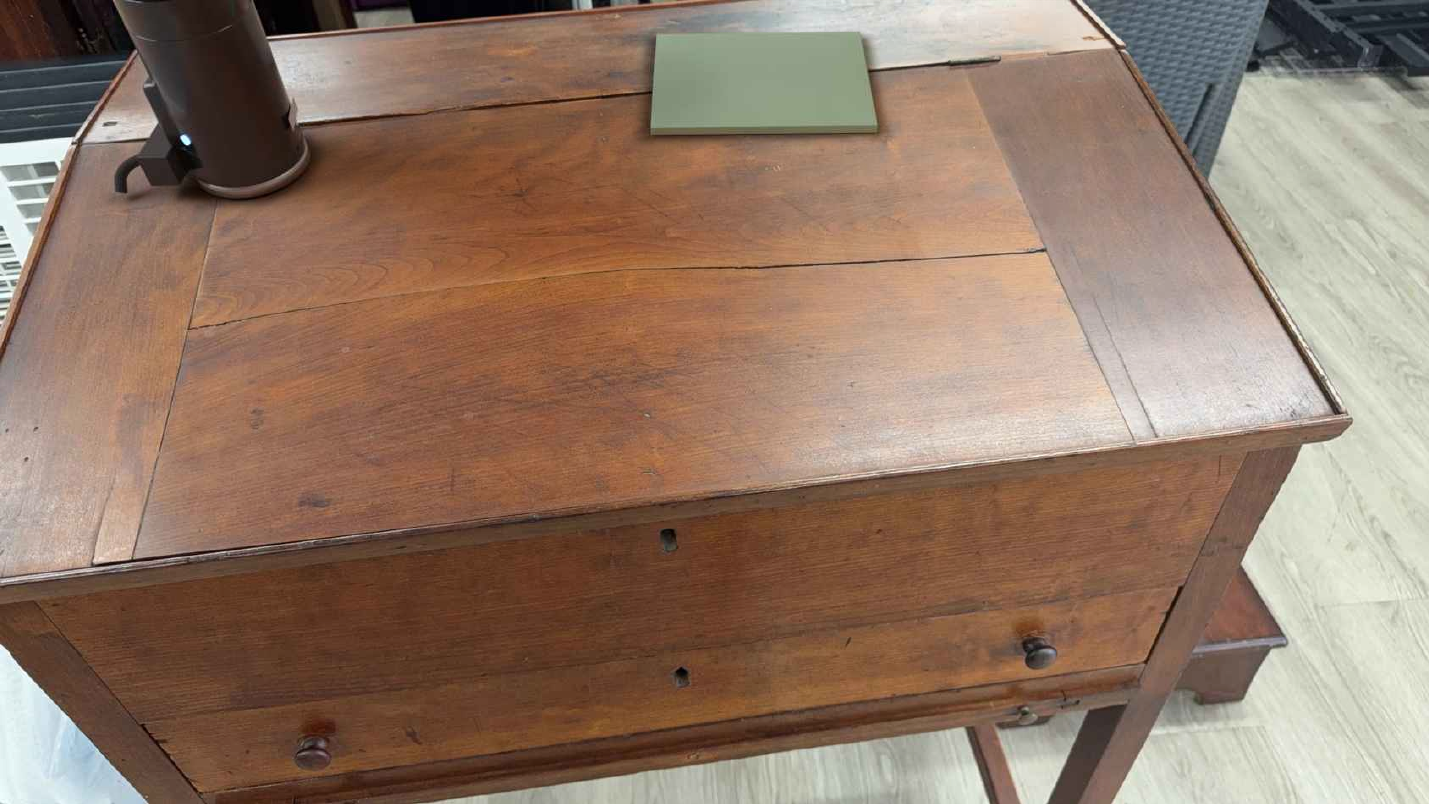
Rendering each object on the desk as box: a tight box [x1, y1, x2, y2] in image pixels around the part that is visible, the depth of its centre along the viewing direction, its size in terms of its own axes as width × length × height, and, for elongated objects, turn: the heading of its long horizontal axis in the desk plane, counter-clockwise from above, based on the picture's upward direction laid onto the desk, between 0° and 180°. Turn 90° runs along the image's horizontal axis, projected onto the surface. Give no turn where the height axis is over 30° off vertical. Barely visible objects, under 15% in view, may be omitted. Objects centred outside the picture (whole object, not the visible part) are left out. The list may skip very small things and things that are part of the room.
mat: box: [650, 31, 879, 136], centre depth 95 cm, size 20×16×1 cm
